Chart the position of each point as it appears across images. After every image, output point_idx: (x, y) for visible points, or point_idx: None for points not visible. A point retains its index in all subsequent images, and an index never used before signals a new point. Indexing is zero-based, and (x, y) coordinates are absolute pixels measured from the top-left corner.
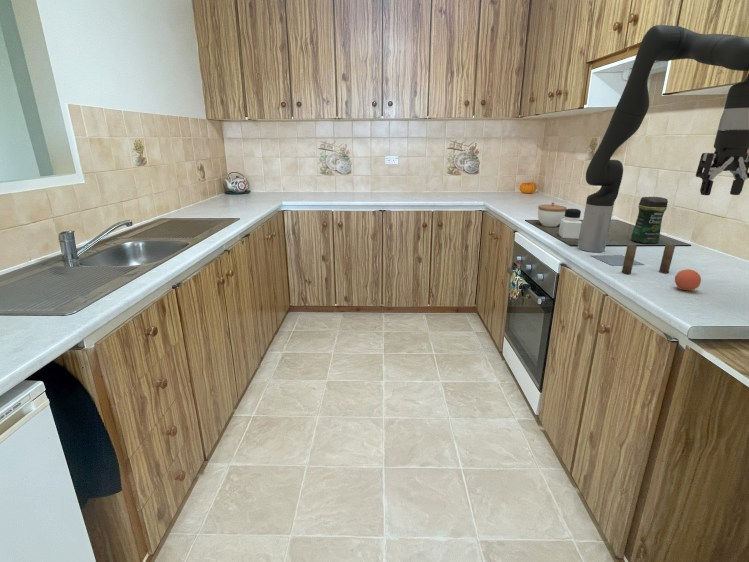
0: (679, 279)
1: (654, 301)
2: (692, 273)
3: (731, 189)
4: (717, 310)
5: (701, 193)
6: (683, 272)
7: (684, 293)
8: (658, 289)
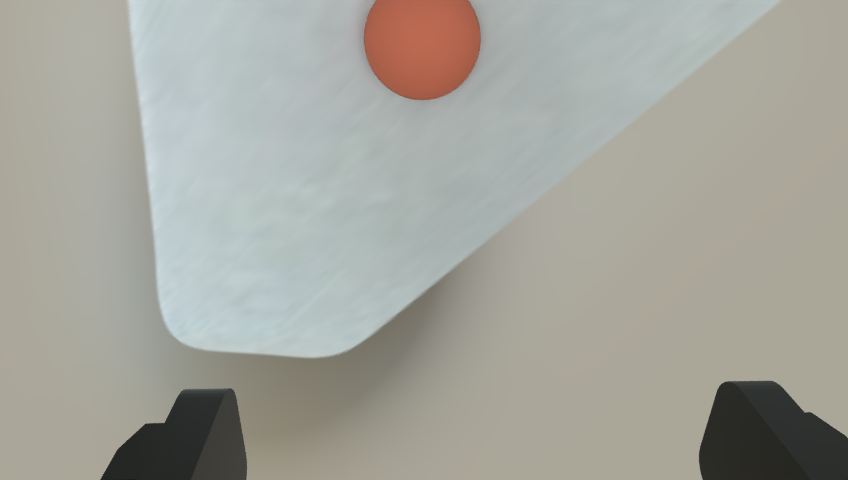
0: (365, 47)
1: (166, 159)
2: (411, 81)
3: (768, 433)
4: (361, 259)
5: (186, 403)
6: (384, 47)
7: (377, 79)
8: (285, 11)
